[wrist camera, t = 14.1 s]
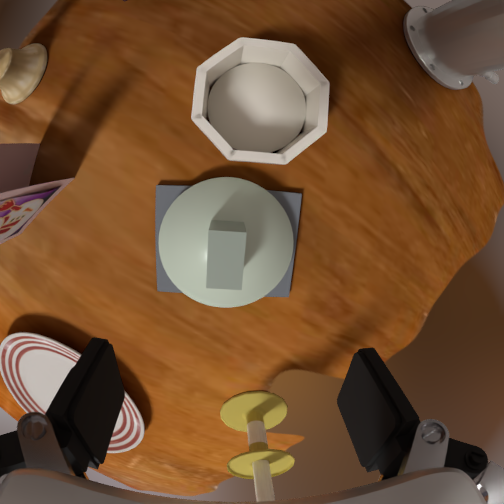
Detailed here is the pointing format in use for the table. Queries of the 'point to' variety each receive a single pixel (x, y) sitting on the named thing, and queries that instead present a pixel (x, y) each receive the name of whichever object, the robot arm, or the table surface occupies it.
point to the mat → (171, 192)
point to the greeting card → (21, 189)
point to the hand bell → (21, 71)
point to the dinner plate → (56, 382)
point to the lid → (225, 242)
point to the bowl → (260, 101)
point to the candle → (257, 439)
